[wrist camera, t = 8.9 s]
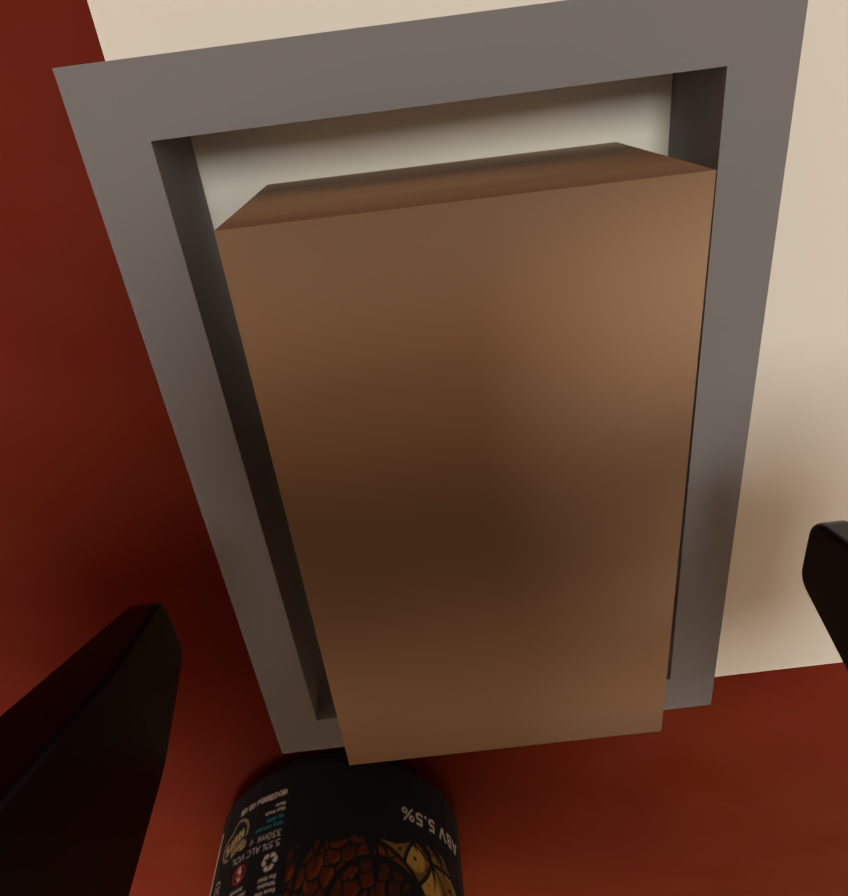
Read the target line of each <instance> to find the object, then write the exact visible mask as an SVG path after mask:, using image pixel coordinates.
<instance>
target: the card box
mask: <svg viewBox="0 0 848 896" xmlns="http://www.w3.org/2000/svg"><path fill="white" fill-rule="evenodd" d="M715 179H716V170H715V169H711V168H708V167H704V166H700V165H697V164H693V163H690V162H686V161H683V160H679V159H675V158H672V157H668V156H665V155H661V154H658V153H654V152H650V151H647V150H643V149H640V148H636V147H633V146H629V145H625V144H622V143H618V142H611V143H603V144H595V145H587V146H578V147H570V148H562V149H554V150H546V151H538V152H529V153H521V154H513V155H505V156H497V157H488V158H480V159H472V160H464V161H456V162H448V163H439V164H431V165H423V166H415V167H407V168H398V169H390V170H382V171H374V172H366V173H358V174H349V175H341V176H333V177H325V178H317V179H308V180H300V181H292V182H284V183H276V184H268V185H266V186H265V187H264V188H263V189H262V190H261V191H259V192H258V193H257V194H256V195H255V196H254V197H253V198H251V199H250V200H249V201H248V202H247V203H246V204H244V205H243V206H242V207H241V208H240V209H239V210H238V211H236V212H235V213H234V214H233V215H232V216H231V217H229V218H228V219H227V220H226V221H225V222H224V223H223V224H221V225H220V226H219V227H218V228H217V229H216V230H214V233H215V237H216V241H217V245H218V249H219V253H220V257H221V261H222V265H223V269H224V273H225V277H226V281H227V285H228V289H229V292H230V296H231V300H232V304H233V308H234V312H235V316H236V320H237V324H238V328H239V332H240V336H241V340H242V344H243V348H244V352H245V356H246V359H247V363H248V367H249V371H250V375H251V379H252V383H253V387H254V391H255V395H256V399H257V403H258V407H259V411H260V415H261V419H262V423H263V426H264V430H265V434H266V438H267V442H268V446H269V450H270V454H271V458H272V462H273V466H274V470H275V474H276V478H277V482H278V486H279V490H280V493H281V497H282V501H283V505H284V509H285V513H286V517H287V521H288V525H289V529H290V533H291V537H292V541H293V545H294V549H295V553H296V557H297V561H298V564H299V568H300V572H301V576H302V580H303V584H304V588H305V592H306V596H307V600H308V604H309V608H310V612H311V616H312V620H313V624H314V628H315V631H316V635H317V639H318V643H319V647H320V651H321V655H322V659H323V663H324V667H325V671H326V675H327V679H328V683H329V687H330V691H331V695H332V698H333V702H334V706H335V710H336V714H337V718H338V722H339V726H340V730H341V734H342V738H343V742H344V746H345V750H346V754H347V758H348V762H349V765H357V764H366V763H375V762H384V761H393V760H402V759H411V758H420V757H429V756H439V755H448V754H457V753H466V752H475V751H484V750H493V749H502V748H511V747H520V746H529V745H538V744H547V743H556V742H565V741H574V740H583V739H592V738H601V737H610V736H619V735H628V734H637V733H647V732H656V731H662V721H663V710H664V700H665V690H666V680H667V669H668V659H669V649H670V639H671V629H672V618H673V608H674V598H675V588H676V577H677V567H678V557H679V547H680V537H681V526H682V516H683V506H684V496H685V485H686V475H687V465H688V455H689V444H690V434H691V424H692V414H693V404H694V393H695V383H696V373H697V363H698V352H699V342H700V332H701V322H702V312H703V301H704V291H705V281H706V271H707V260H708V250H709V240H710V230H711V219H712V209H713V199H714V189H715Z"/></svg>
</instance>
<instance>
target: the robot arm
mask: <svg viewBox="0 0 848 896" xmlns="http://www.w3.org/2000/svg"><path fill="white" fill-rule="evenodd" d="M802 579H803V583H804V586H805V589H806V591H807V593H808V595H809V597H810V599H811V601H812V603H813V604H814V606H815V608H816V610H817V612H818V614H819V616H820V618H821V620H822V622H823V624H824V626H825V628H826V630H827V632H828V634H829V636H830V638H831V640H832V641H833V643H834V645H835V647H836V649H837V651H838V653H839V655H840V657H841V659H842V661H843V663H844V665H845V667H846V669H847V671H848V521H845V520H839V521H831V522H823V523H818V524H816V525H814V526H813V527H812V528H811V530H810V533H809V537H808V542H807V547H806V552H805V557H804V562H803V566H802ZM181 664H182V649H181V645H180V642H179V639H178V637H177V634H176V632H175V629H174V627H173V624H172V622H171V619H170V617H169V614H168V612H167V610H166V608H165V607H164V605H163V604H161V603H157V602H155V603H147V604H139V605H133V606H131V607H129V608H128V609H126V610H125V611H124V612H123V613H122V614H121V615H119V616H118V617H117V618H116V619H115V620H113V621H112V622H111V623H110V624H109V625H108V626H106V627H105V628H104V629H103V630H102V631H100V632H99V633H98V634H97V635H96V636H95V637H93V638H92V639H91V640H90V641H89V642H87V643H86V644H85V645H84V646H83V647H82V648H80V649H79V650H78V651H77V652H76V653H75V654H73V655H72V656H71V657H70V658H69V659H67V660H66V661H65V662H64V663H63V664H62V665H60V666H59V667H58V668H57V669H56V670H54V671H53V672H52V673H51V674H50V675H49V676H47V677H46V678H45V679H44V680H43V681H42V682H40V683H39V684H38V685H37V686H36V687H34V688H33V689H32V690H31V691H30V692H29V693H27V694H26V695H25V696H24V697H23V698H21V699H20V700H19V701H18V702H17V703H16V704H14V705H13V706H12V707H11V708H10V709H8V710H7V711H6V712H5V713H4V714H3V715H1V716H0V896H129V892H130V889H131V885H132V882H133V878H134V874H135V871H136V867H137V864H138V860H139V857H140V853H141V849H142V846H143V842H144V839H145V835H146V831H147V828H148V824H149V821H150V817H151V813H152V810H153V806H154V803H155V799H156V795H157V792H158V788H159V785H160V781H161V777H162V773H163V769H164V765H165V760H166V754H167V749H168V743H169V737H170V731H171V725H172V719H173V713H174V706H175V700H176V694H177V688H178V682H179V676H180V670H181Z"/></svg>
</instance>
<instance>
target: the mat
mask: <svg viewBox="0 0 848 896" xmlns="http://www.w3.org/2000/svg"><path fill="white" fill-rule="evenodd" d="M87 1H88V4H89V8H90V11H91V14H92V18H93V21H94V24H95V28H96V31H97V34H98V38H99V41H100V44H101V48H102V51H103V54H104V58H105V61H103V62H96V63H88V64H81V65H73V66H66V67H58V68H52V69H53V72H54V75H55V78H56V81H57V84H58V87H59V90H60V93H61V96H62V99H63V102H64V105H65V108H66V111H67V114H68V117H69V120H70V123H71V126H72V129H73V132H74V135H75V138H76V141H77V143H78V146H79V149H80V152H81V155H82V158H83V161H84V164H85V167H86V170H87V173H88V176H89V179H90V182H91V185H92V188H93V191H94V194H95V197H96V200H97V203H98V206H99V209H100V212H101V215H102V218H103V221H104V224H105V227H106V230H107V233H108V236H109V239H110V242H111V245H112V248H113V251H114V254H115V257H116V260H117V263H118V266H119V269H120V272H121V275H122V278H123V281H124V284H125V287H126V289H127V292H128V295H129V298H130V301H131V304H132V307H133V310H134V313H135V316H136V319H137V322H138V325H139V328H140V331H141V334H142V337H143V340H144V343H145V346H146V349H147V352H148V355H149V358H150V361H151V364H152V367H153V370H154V373H155V376H156V379H157V382H158V385H159V388H160V391H161V394H162V397H163V400H164V403H165V406H166V409H167V412H168V415H169V418H170V421H171V424H172V427H173V430H174V433H175V435H176V438H177V441H178V444H179V447H180V450H181V453H182V456H183V459H184V462H185V465H186V468H187V471H188V474H189V477H190V480H191V483H192V486H193V489H194V492H195V495H196V498H197V501H198V504H199V507H200V510H201V513H202V516H203V519H204V522H205V525H206V528H207V531H208V534H209V537H210V540H211V543H212V546H213V549H214V552H215V555H216V558H217V561H218V564H219V567H220V570H221V573H222V576H223V578H224V581H225V584H226V587H227V590H228V593H229V596H230V599H231V602H232V605H233V608H234V611H235V614H236V617H237V620H238V623H239V626H240V629H241V632H242V635H243V638H244V641H245V644H246V647H247V650H248V653H249V656H250V659H251V662H252V665H253V668H254V671H255V674H256V677H257V680H258V683H259V686H260V689H261V692H262V695H263V698H264V701H265V704H266V707H267V710H268V713H269V716H270V719H271V722H272V724H273V727H274V730H275V733H276V736H277V739H278V742H279V745H280V748H281V751H282V754H286V753H294V752H303V751H312V750H321V749H329V748H338V747H345V746H344V742H343V738H342V734H341V730H340V726H339V722H338V718H337V714H336V710H335V706H334V702H333V698H332V695H331V691H330V687H329V683H328V679H327V675H326V671H325V667H324V663H323V659H322V655H321V651H320V647H319V643H318V639H317V635H316V631H315V628H314V624H313V620H312V616H311V612H310V608H309V604H308V600H307V596H306V592H305V588H304V584H303V580H302V576H301V572H300V568H299V564H298V561H297V557H296V553H295V549H294V545H293V541H292V537H291V533H290V529H289V525H288V521H287V517H286V513H285V509H284V505H283V501H282V497H281V493H280V490H279V486H278V482H277V478H276V474H275V470H274V466H273V462H272V458H271V454H270V450H269V446H268V442H267V438H266V434H265V430H264V426H263V423H262V419H261V415H260V411H259V407H258V403H257V399H256V395H255V391H254V387H253V383H252V379H251V375H250V371H249V367H248V363H247V359H246V356H245V352H244V348H243V344H242V340H241V336H240V332H239V328H238V324H237V320H236V316H235V312H234V308H233V304H232V300H231V296H230V292H229V289H228V285H227V281H226V277H225V273H224V269H223V265H222V261H221V257H220V253H219V249H218V245H217V241H216V237H215V233H214V230H216V229H217V228H218V227H219V226H220V225H221V224H223V223H224V222H225V221H226V220H227V219H228V218H229V217H231V216H232V215H233V214H234V213H235V212H236V211H238V210H239V209H240V208H241V207H242V206H243V205H244V204H246V203H247V202H248V201H249V200H250V199H251V198H253V197H254V196H255V195H256V194H257V193H258V192H259V191H261V190H262V189H263V188H264V187H265V186H266V185H268V184H276V183H284V182H292V181H300V180H308V179H317V178H325V177H333V176H341V175H349V174H358V173H366V172H374V171H382V170H390V169H398V168H407V167H415V166H423V165H431V164H439V163H448V162H456V161H464V160H472V159H480V158H488V157H497V156H505V155H513V154H521V153H529V152H538V151H546V150H554V149H562V148H570V147H578V146H587V145H595V144H603V143H611V142H618V143H622V144H625V145H629V146H633V147H636V148H640V149H643V150H647V151H650V152H654V153H658V154H661V155H665V156H668V157H672V158H675V159H679V160H683V161H686V162H690V163H693V164H697V165H700V166H704V167H708V168H711V169H715V170H716V179H715V189H714V199H713V209H712V219H711V230H710V240H709V250H708V260H707V271H706V281H705V291H704V301H703V312H702V322H701V332H700V342H699V352H698V363H697V373H696V383H695V393H694V404H693V414H692V424H691V434H690V444H689V455H688V465H687V475H686V485H685V496H684V506H683V516H682V526H681V537H680V547H679V557H678V567H677V577H676V588H675V598H674V608H673V618H672V629H671V639H670V649H669V659H668V669H667V680H666V690H665V700H664V710H668V709H677V708H685V707H694V706H703V705H711V699H712V692H713V684H714V677H718V676H727V675H735V674H744V673H753V672H761V671H770V670H779V669H787V668H796V667H804V666H813V665H822V664H830V663H839V662H843V661H842V659H841V657H840V655H839V653H838V651H837V649H836V647H835V645H834V643H833V641H832V640H831V638H830V636H829V634H828V632H827V630H826V628H825V626H824V624H823V622H822V620H821V618H820V616H819V614H818V612H817V610H816V608H815V606H814V604H813V603H812V601H811V599H810V597H809V595H808V593H807V591H806V589H805V586H804V583H803V579H802V566H803V562H804V557H805V552H806V547H807V542H808V537H809V533H810V530H811V528H812V527H813V526H814V525H816V524H818V523H823V522H831V521H839V520H845V521H848V0H87Z"/></svg>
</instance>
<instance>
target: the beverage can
mask: <svg viewBox="0 0 848 896" xmlns="http://www.w3.org/2000/svg"><path fill="white" fill-rule="evenodd" d="M210 896H464V893H463V882H462V871H461V860H460V849H459V838H458V827H457V823H456V819H455V816H454V812H453V810H452V809H451V807H450V806H449V804H448V803H447V801H446V800H445V798H444V797H443V795H442V794H441V793H440V792H439V791H438V790H436V789H435V788H434V787H433V786H432V785H431V784H429V783H428V782H427V781H426V780H425V779H424V778H422V777H421V776H420V775H419V774H418V773H417V772H416V771H414V770H412V769H410V768H409V767H407V766H405V765H403V764H401V763H399V762H397V761H394V760H393V761H384V762H375V763H366V764H357V765H349V762H348V758H347V754H346V752H331V753H320V754H315V755H311V756H307V757H303V758H299V759H296V760H294V761H291V762H289V763H287V764H284V765H282V766H280V767H278V768H277V769H275V770H274V771H272V772H271V773H269V774H268V775H266V776H265V777H264V778H263V779H262V780H260V781H259V782H257V783H256V784H254V785H253V786H251V787H250V788H249V789H248V790H247V791H246V792H245V793H244V794H243V795H242V796H241V797H240V798H239V799H238V800H237V801H236V803H235V804H234V805H233V807H232V809H231V811H230V813H229V815H228V817H227V819H226V823H225V827H224V832H223V837H222V841H221V846H220V850H219V855H218V859H217V864H216V868H215V873H214V877H213V882H212V886H211V891H210Z"/></svg>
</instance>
